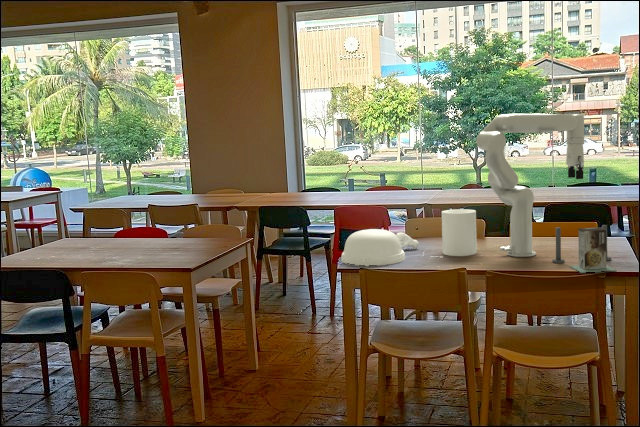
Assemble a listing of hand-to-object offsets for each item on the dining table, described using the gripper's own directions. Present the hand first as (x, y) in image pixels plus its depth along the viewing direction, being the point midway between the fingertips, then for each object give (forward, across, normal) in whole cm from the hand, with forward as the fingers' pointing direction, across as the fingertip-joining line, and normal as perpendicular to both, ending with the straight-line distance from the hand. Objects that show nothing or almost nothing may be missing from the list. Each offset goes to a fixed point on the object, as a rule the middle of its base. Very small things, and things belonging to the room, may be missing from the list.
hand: (575, 178), depth 318 cm
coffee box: (+33, +45, -10) cm, 57 cm away
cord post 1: (+33, +28, -18) cm, 47 cm away
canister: (+34, -4, -54) cm, 64 cm away
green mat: (+33, +45, -10) cm, 57 cm away
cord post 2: (+33, +28, +2) cm, 44 cm away
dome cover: (+34, +1, -96) cm, 102 cm away
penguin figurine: (+34, -20, -77) cm, 86 cm away
